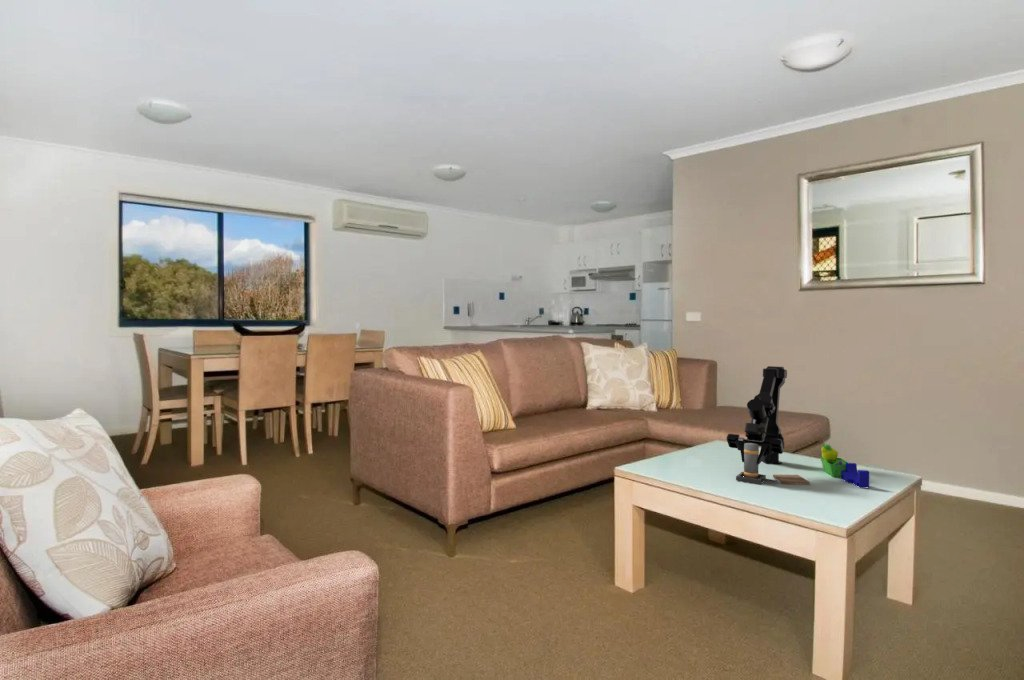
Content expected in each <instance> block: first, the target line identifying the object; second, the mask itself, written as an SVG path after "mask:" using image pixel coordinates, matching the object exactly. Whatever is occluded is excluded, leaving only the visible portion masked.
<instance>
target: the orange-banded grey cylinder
mask: <svg viewBox="0 0 1024 680" xmlns="http://www.w3.org/2000/svg"><path fill="white" fill-rule="evenodd" d="M759 448H760V447H759V445H758V444H755V443H745V444H744V462H743V472H744V477H747V478H754V479H758V474H759V465H758V464H757V460H758V457H759V453H760V449H759Z"/></svg>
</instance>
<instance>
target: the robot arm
mask: <svg viewBox="0 0 1024 680" xmlns="http://www.w3.org/2000/svg"><path fill="white" fill-rule="evenodd" d="M762 377H763V378H762V382H761V385H760V386H761V387H760V390H759V392H758V394H757V395H754V398H752V399H750V400H748V402H747V403H746V408H747V411H748V414H749V415H748V416H749V418H750V422H745V426H744V432H745V437H746V438H744V437H742V436H740V434H738V433H728V434H727V435H726V442H727V444H728V447H729V448H731V449H737V451H740V457H741V461H742V463H744V444H745V443H755V444H758V445H759V448H760V449H759V457H758V460H757V464H758V466H760V464H761V463H762V462H763V463H765V464H774V465H775V464H778V465H779V464H780V465H782V464H783V462H782V461H781V460H780V455H782V454H783V453H784V449H785V440H784V439H785V438H784V437H783V433H782V429H781V427H780V426H779V424H778V422H779V410H780V408H779V407H780V393H781V388H782V387H783V386H784V385H785V383H786V379H787V378H788V370H787V369H785V367H784V366H774V365H773V366H772V365H767V367H766V368H762Z"/></svg>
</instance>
